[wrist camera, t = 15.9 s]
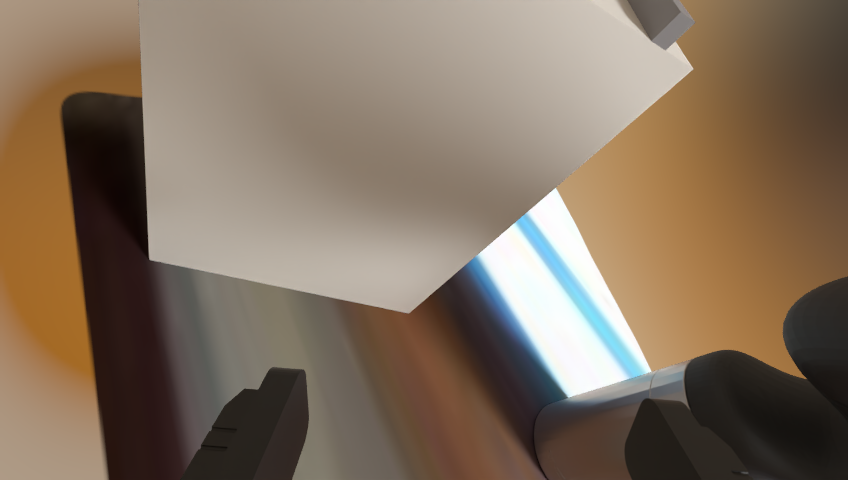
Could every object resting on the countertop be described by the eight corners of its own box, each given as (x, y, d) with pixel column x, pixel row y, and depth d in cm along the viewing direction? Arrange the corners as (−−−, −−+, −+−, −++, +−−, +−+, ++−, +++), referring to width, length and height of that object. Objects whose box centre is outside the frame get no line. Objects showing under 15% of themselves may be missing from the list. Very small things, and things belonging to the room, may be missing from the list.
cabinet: (408, 313, 44) (734, 33, 19) (149, 259, 34) (120, -434, 10) (410, 197, 53) (630, -94, 28) (205, 130, 43) (264, -397, 19)
